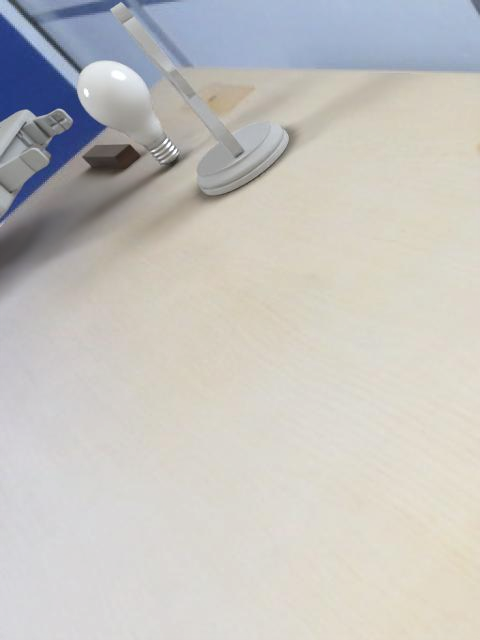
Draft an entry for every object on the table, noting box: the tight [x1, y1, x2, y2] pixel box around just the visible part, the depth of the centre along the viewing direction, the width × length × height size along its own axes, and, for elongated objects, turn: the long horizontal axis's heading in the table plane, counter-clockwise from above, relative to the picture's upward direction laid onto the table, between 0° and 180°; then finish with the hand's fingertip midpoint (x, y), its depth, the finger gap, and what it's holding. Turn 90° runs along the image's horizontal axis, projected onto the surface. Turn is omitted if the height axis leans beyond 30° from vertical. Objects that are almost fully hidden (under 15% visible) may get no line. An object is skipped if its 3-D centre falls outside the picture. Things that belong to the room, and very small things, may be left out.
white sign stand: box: [109, 1, 290, 196], centre depth 67 cm, size 10×10×15 cm
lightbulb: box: [76, 59, 181, 166], centre depth 77 cm, size 6×6×11 cm
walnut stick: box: [81, 143, 141, 169], centre depth 90 cm, size 10×2×2 cm, turn 57°
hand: (55, 134), depth 76 cm, fingers open, 8 cm apart
